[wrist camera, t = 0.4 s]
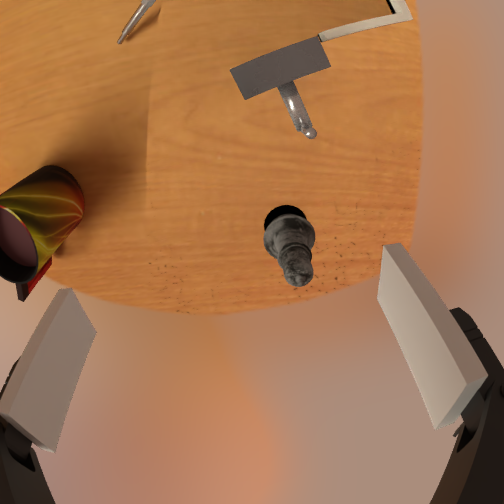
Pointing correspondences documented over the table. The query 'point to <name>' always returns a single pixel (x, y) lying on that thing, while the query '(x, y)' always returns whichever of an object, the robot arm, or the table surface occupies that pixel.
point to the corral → (371, 21)
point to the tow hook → (135, 19)
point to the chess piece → (290, 243)
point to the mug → (36, 224)
